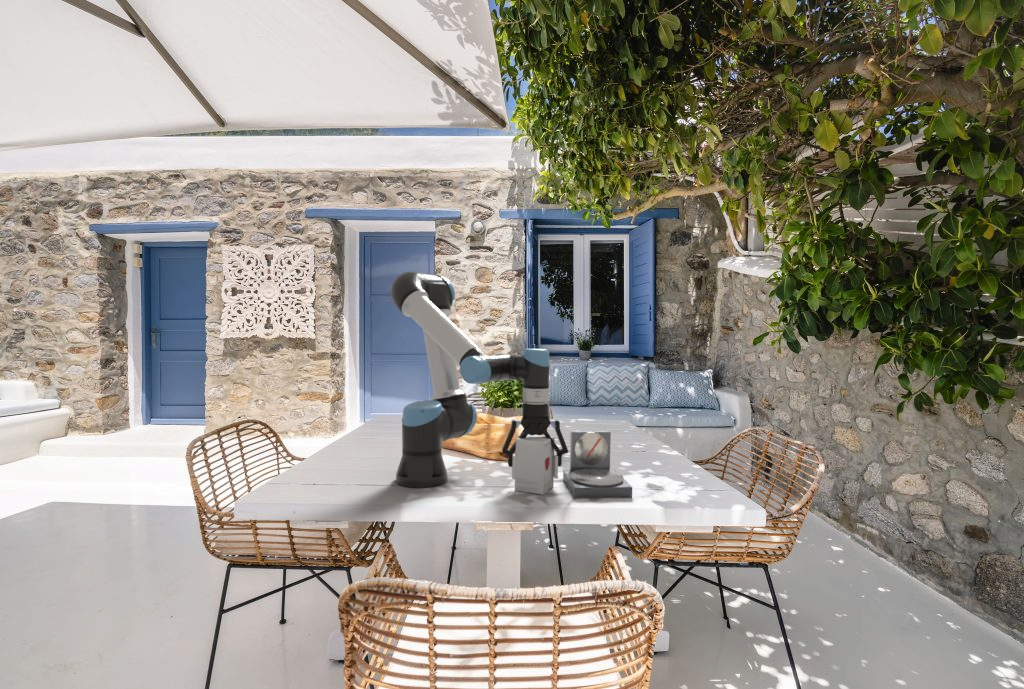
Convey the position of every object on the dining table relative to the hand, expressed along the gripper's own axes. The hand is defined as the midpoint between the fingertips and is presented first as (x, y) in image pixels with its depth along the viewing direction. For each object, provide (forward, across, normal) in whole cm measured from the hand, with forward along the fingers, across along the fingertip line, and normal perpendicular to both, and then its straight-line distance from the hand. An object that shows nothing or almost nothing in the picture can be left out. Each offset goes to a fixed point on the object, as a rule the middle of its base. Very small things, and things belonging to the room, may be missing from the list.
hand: (534, 477), depth 152 cm
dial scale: (+3, +18, 0) cm, 18 cm away
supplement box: (+4, 0, 0) cm, 4 cm away
